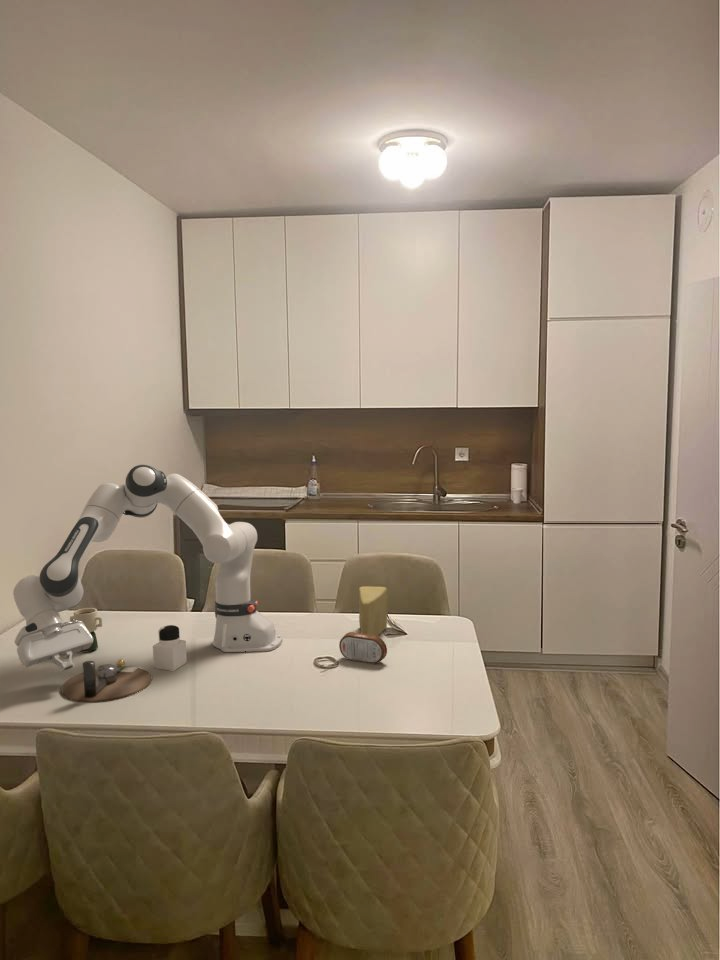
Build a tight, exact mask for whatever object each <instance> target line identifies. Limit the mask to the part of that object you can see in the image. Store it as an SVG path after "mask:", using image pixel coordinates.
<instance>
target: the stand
mask: <svg viewBox="0 0 720 960" xmlns="http://www.w3.org/2000/svg"><path fill="white" fill-rule="evenodd" d="M95 676H96V680H97V679H98V674H97V668H95ZM116 677H117V680H116V681H115V682H113V683H110V684H107V685H106V686H105V687H103V688H102V689H101V690H100V691H99V692H98V693H97V694H96V696H93V697H85V692H84V676H83V672H82V673H78V674H76V675H74V676H72V677H70V678H69V679H67V680H66V681H65V682H64V683H63V684H62V686H61V693H63V694H62V695H63V697H65V696H66V697H67V699H68V698H69V700H71V699H72V700H71V701H75V700H76V702H80V701H84V703H101V701H102V702H109V701H114V700H115V699H116V700H120V699H124V698H127V697H126V696H128V697H130V696H129V695H131V696H133V695H136V694H138V693H140V692H141V690H142V691H143V689H144V690H145V689H147V688H148V687H149V686H150V685H151V683H152V680H153V679H152V674H151V673H150V671H148V669H147V670H146V669H144V668H140V667H137V666H126V665H124V667H123V668H122V669H121V670H119V671H118V672H117V673H116ZM139 691H140V692H139ZM137 692H138V693H137ZM135 693H136V694H135ZM132 694H133V695H132ZM66 697H65V698H66ZM123 697H124V698H123Z"/></svg>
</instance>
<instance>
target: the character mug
mask: <svg viewBox="0 0 720 960" xmlns="http://www.w3.org/2000/svg"><path fill="white" fill-rule="evenodd" d="M73 620H77V621H81V622H83V623H84V625H85V627H86V628H87V629H88V631H89V632H90V634H91V635H92V637H93V639H94V640H93V643H92V645H91V646H90V648H88V649H85V650H81V651H79V652H81V653H87V652H91V651H94V650H97V649H98V648H99V644H98V640H97V639H98V638H97V635H96V632H95V631H97V629H99V628H102V627H103V617H102V616H98V609H97V608H94V607H86V608H85V607H83V608H80V609H77V610H74V611H73V615H70V616H69V622H70V621H73ZM77 623H78V622H77Z"/></svg>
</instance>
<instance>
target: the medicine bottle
mask: <svg viewBox="0 0 720 960" xmlns="http://www.w3.org/2000/svg"><path fill="white" fill-rule="evenodd" d="M152 654H153V655H152V658H153V669H156V670H162V671H165V670H166V671H170V672H171V671H172V672H173V671H176V670H177V669H179V668H181V667H182V666H184V665H185V664H186V663H187V642H186V640H185V639H180V627H179V626H178V625H177V626H176V625H173V624H171V625H170V624H169V625H164V626H161V627H160V628H159V629H158V642H157V643H155V644H153V645H152Z"/></svg>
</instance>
